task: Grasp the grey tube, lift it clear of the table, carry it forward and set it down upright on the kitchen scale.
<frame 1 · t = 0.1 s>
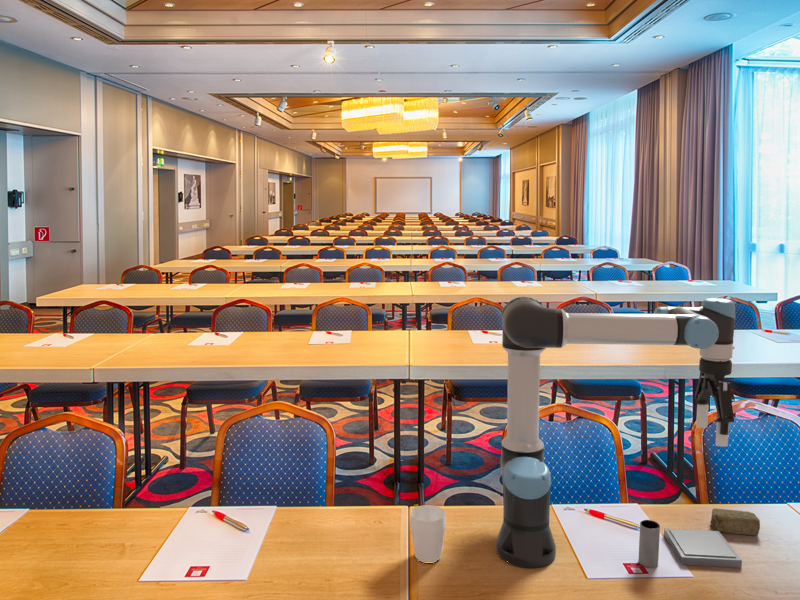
hand: (711, 436, 158), 28 cm above the table, fingers open, 13 cm apart
cup: (428, 557, 153), on the table
kitchen scale: (700, 550, 154), on the table
stone block: (733, 530, 165), on the table
grey tube: (648, 563, 149), on the table
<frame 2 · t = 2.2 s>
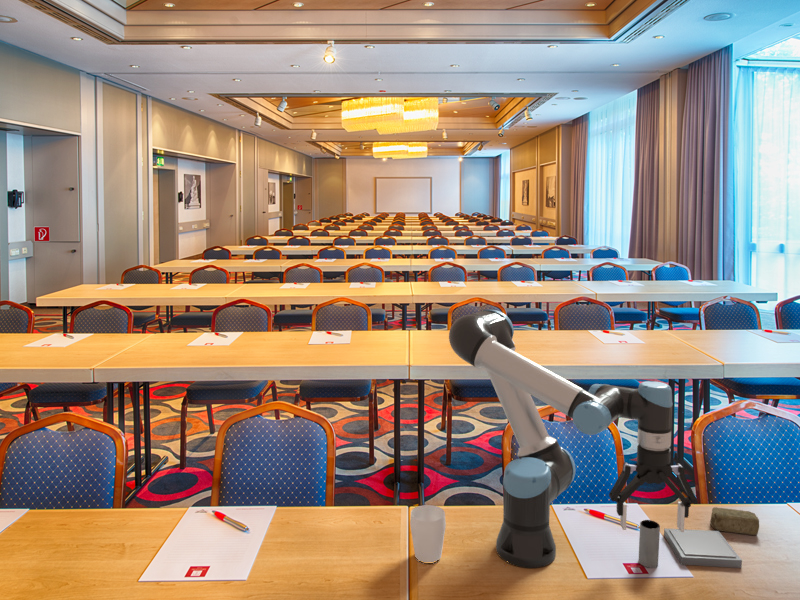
hand: (651, 528, 148), 9 cm above the table, fingers open, 13 cm apart
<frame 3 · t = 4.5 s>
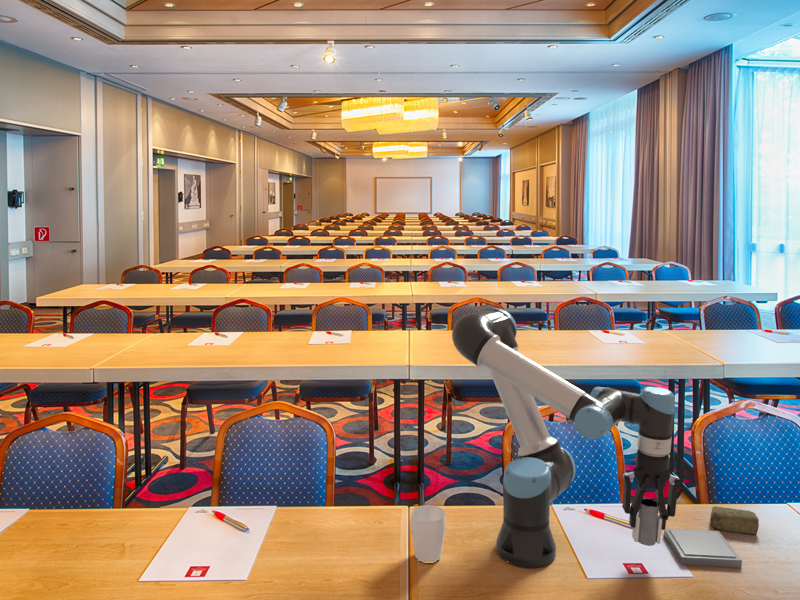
hand: (645, 539, 149), 6 cm above the table, fingers closed on grey tube, 4 cm apart
grey tube: (645, 541, 149), point 5 cm above the table, touching gripper
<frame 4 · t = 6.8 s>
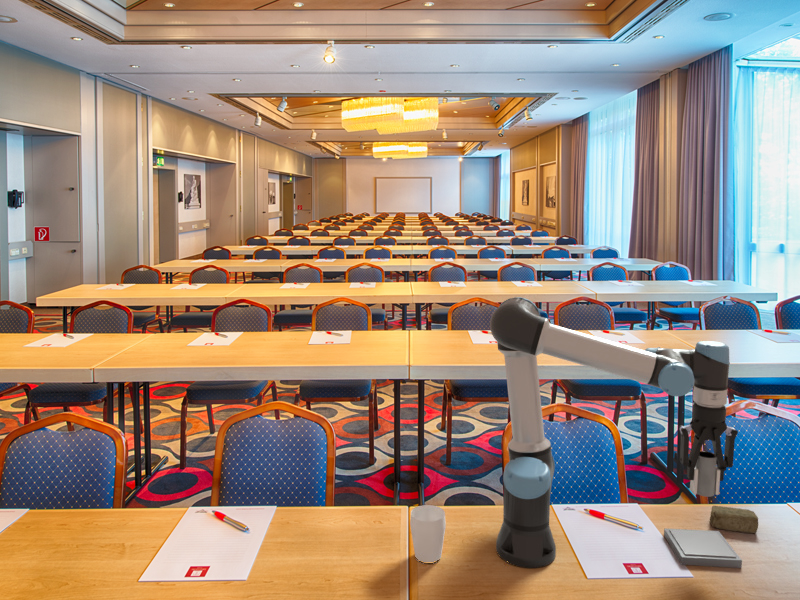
hand: (704, 491, 152), 16 cm above the table, fingers closed on grey tube, 4 cm apart
grey tube: (704, 493, 152), point 16 cm above the table, touching gripper
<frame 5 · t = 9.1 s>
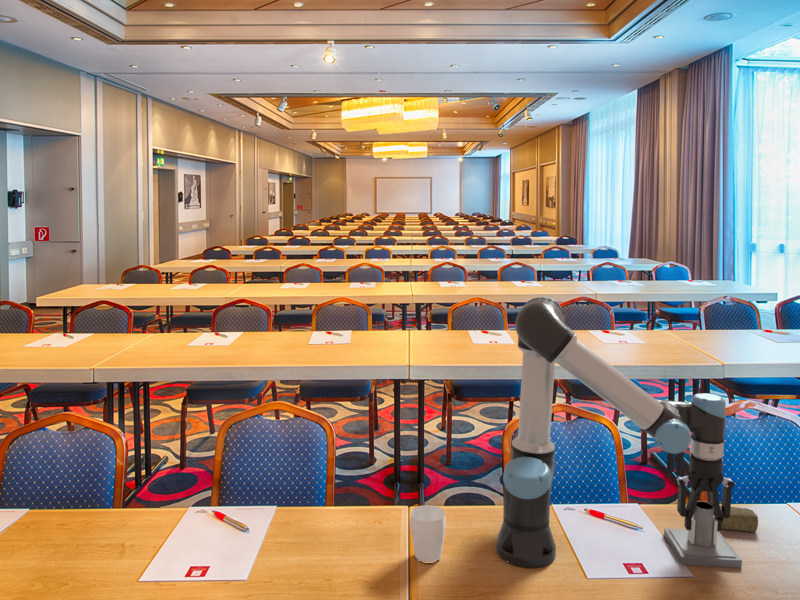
hand: (701, 541, 154), 3 cm above the table, fingers closed on grey tube, 5 cm apart
grey tube: (701, 543, 154), point 2 cm above the table, touching gripper, kitchen scale
when the fingers open (3 cm above the table, at t = 9.1 s): grey tube stays where it is, resting on kitchen scale.
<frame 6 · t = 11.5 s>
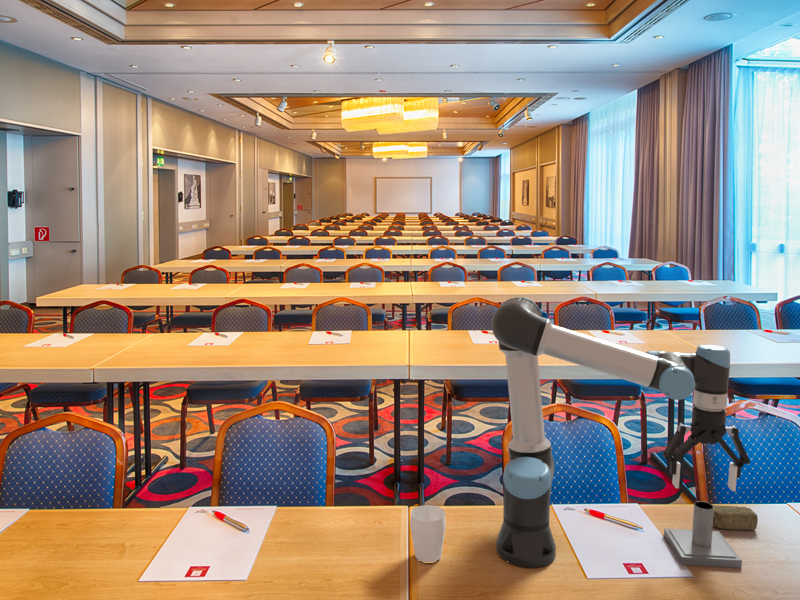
hand: (703, 487, 152), 17 cm above the table, fingers open, 13 cm apart
grey tube: (701, 543, 154), point 2 cm above the table, touching kitchen scale
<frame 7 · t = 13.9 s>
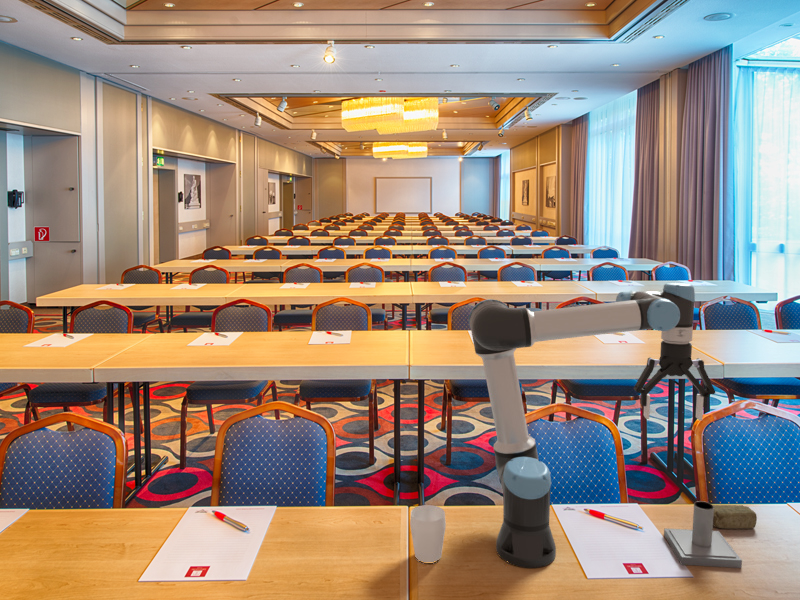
hand: (672, 418, 161), 32 cm above the table, fingers open, 13 cm apart
at the end: grey tube inside the target area on the kitchen scale (0.1 cm from its centre), point 2.1 cm above the kitchen scale's base; grey tube tilted 0°; the gripper is holding nothing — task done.
